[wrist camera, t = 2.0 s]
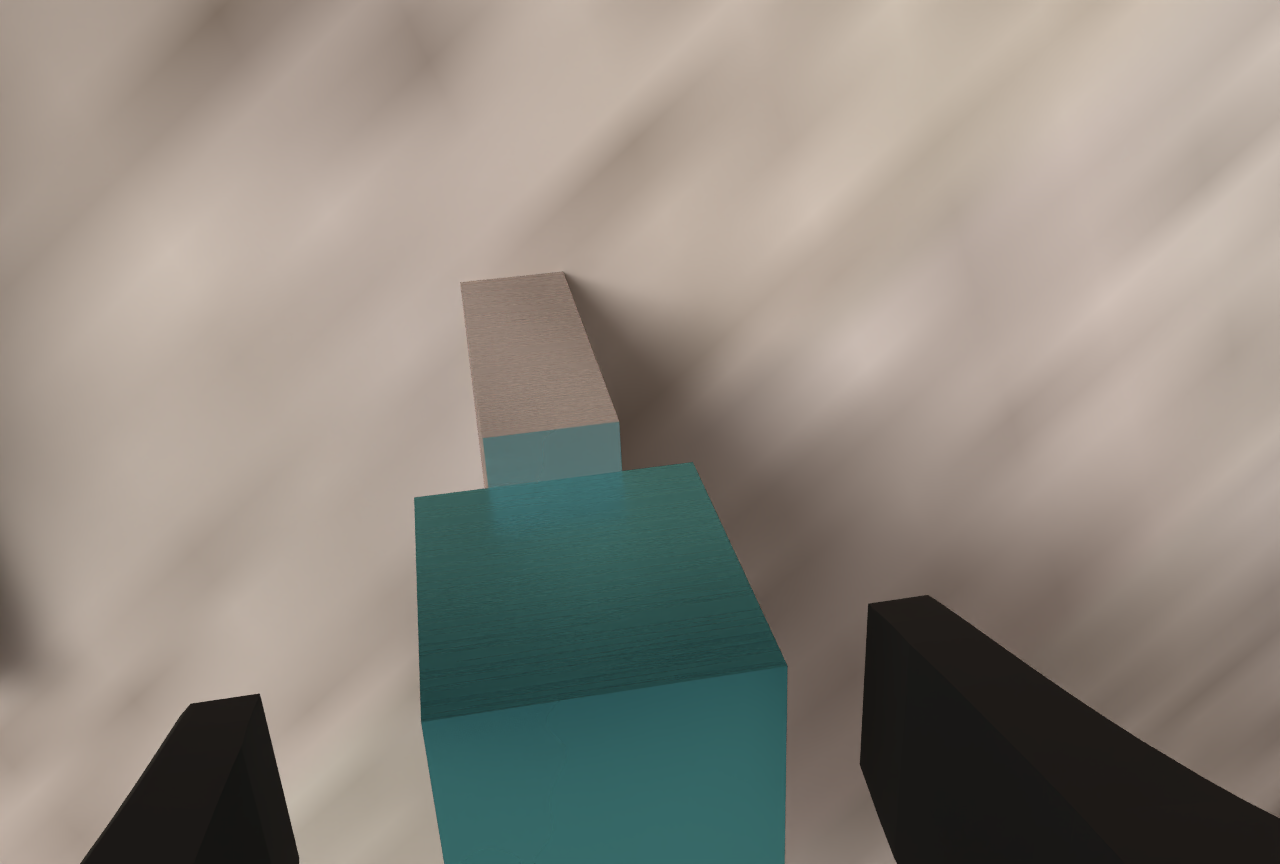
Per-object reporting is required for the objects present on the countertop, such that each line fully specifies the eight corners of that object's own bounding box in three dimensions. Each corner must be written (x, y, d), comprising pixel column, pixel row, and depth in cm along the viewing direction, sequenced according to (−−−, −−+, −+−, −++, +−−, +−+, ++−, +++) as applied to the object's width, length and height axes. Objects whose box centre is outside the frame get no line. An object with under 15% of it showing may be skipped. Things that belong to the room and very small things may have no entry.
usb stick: (640, 671, 17) (779, 1155, 11) (461, 698, 17) (501, 1213, 10) (618, 266, 14) (789, 606, 8) (403, 288, 14) (410, 661, 8)
